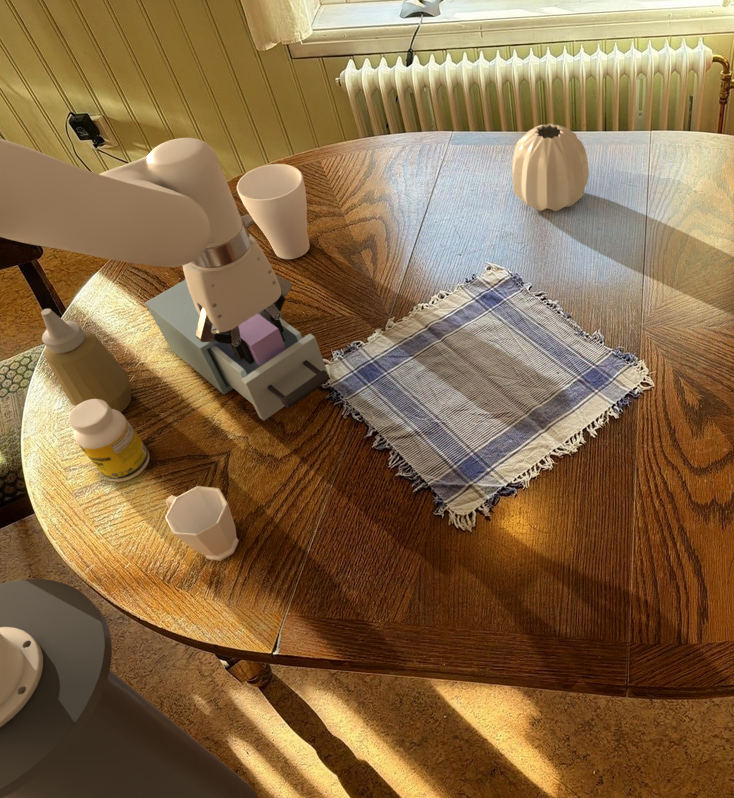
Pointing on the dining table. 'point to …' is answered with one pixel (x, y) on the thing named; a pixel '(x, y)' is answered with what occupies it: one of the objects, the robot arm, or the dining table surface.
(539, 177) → the vase
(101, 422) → the pill bottle
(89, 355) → the squeeze bottle
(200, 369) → the cabinet
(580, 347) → the dining table surface
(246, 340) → the cube
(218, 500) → the cup
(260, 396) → the drawer
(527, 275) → the dining table surface
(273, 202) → the cup
